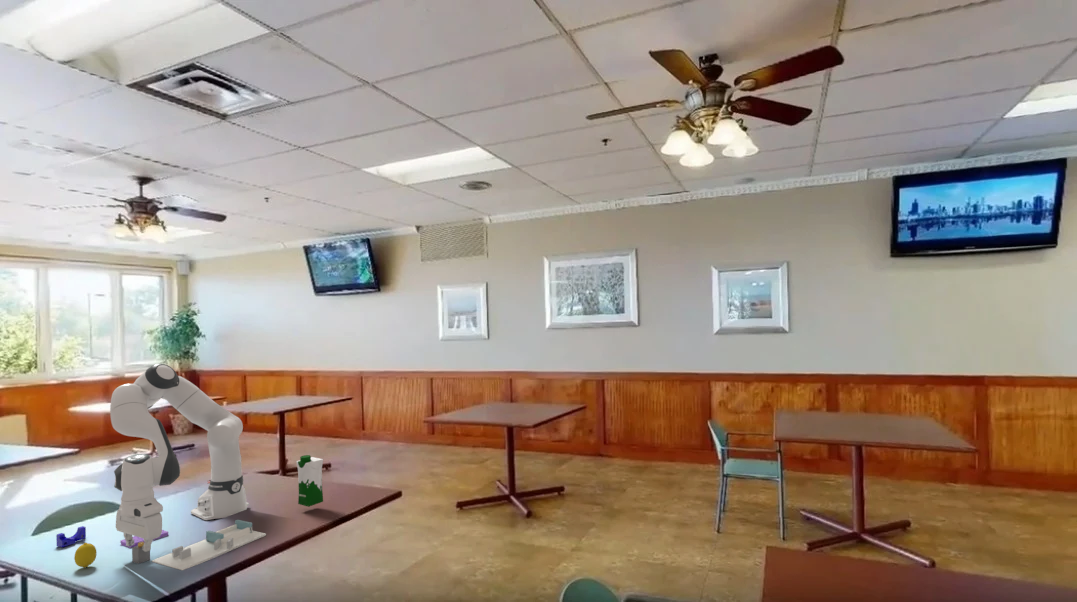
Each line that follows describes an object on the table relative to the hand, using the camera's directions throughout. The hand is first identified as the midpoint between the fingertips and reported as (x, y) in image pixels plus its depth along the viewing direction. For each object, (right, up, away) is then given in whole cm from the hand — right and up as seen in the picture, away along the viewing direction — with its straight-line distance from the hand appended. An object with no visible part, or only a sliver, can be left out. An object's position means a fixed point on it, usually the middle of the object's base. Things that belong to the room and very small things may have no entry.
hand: (138, 548), depth 184 cm
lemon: (-14, -5, -4) cm, 16 cm away
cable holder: (-36, -6, +18) cm, 41 cm away
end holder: (+20, -4, +17) cm, 27 cm away
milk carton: (+35, -4, +52) cm, 63 cm away
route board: (+19, -4, +9) cm, 21 cm away
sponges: (-11, -6, +18) cm, 22 cm away
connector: (+1, -5, 0) cm, 5 cm away
